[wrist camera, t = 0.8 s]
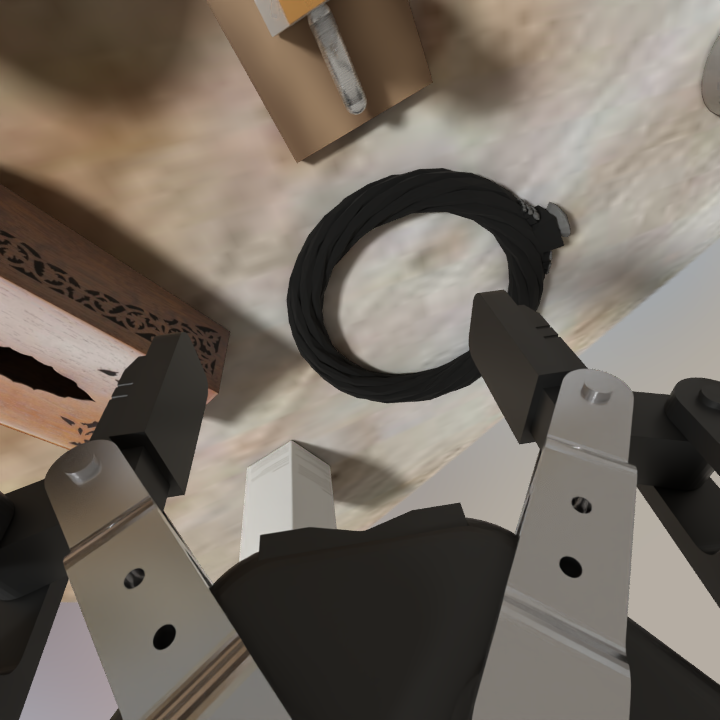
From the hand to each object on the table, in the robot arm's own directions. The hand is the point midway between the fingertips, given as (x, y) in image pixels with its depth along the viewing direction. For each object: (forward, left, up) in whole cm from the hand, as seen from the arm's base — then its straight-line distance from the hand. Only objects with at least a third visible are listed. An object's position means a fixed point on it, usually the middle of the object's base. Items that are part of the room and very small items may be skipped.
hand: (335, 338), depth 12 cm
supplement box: (+24, +36, -28) cm, 52 cm away
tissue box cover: (+27, +2, -29) cm, 40 cm away
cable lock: (-4, +19, -29) cm, 35 cm away
